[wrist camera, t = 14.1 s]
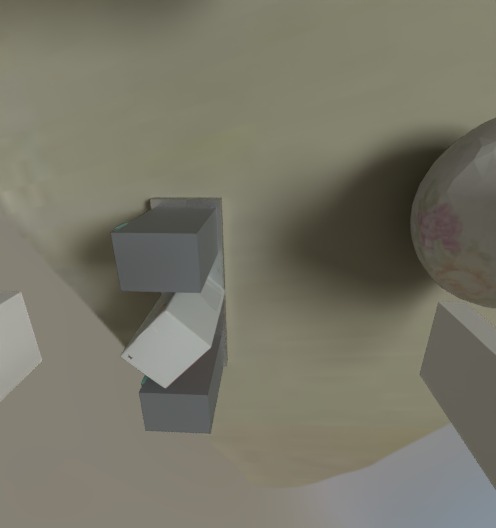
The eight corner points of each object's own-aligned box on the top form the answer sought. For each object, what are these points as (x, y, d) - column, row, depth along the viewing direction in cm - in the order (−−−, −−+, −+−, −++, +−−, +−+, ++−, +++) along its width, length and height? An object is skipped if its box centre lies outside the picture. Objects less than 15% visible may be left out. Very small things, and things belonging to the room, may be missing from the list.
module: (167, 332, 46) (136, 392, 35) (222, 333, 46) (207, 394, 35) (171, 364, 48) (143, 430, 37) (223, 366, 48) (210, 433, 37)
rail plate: (153, 197, 40) (149, 199, 39) (221, 197, 40) (220, 199, 38) (172, 358, 50) (170, 364, 48) (227, 360, 49) (226, 366, 48)
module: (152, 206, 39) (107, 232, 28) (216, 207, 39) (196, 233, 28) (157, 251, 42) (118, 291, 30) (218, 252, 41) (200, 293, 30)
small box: (191, 325, 46) (164, 391, 33) (157, 298, 44) (117, 357, 32) (227, 290, 43) (212, 348, 31) (193, 261, 42) (163, 309, 30)
